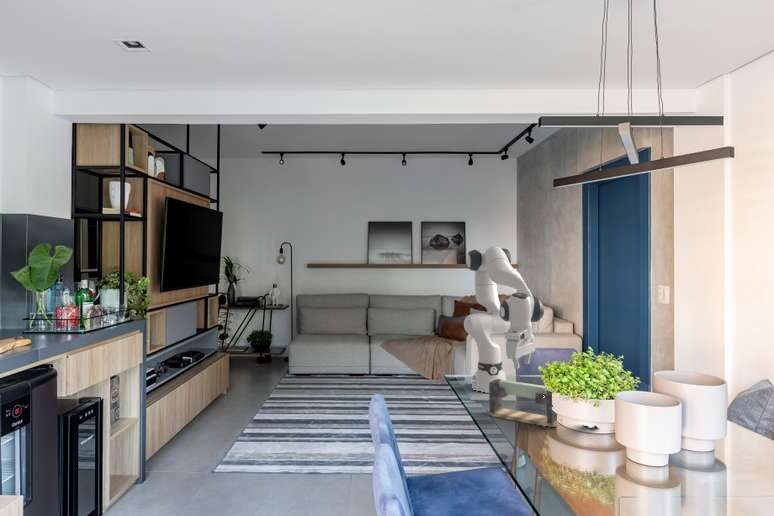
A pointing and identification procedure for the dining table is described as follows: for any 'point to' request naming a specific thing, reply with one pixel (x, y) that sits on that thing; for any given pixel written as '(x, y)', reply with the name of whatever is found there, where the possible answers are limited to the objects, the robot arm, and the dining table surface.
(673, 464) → the dining table surface
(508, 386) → the rail
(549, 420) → the rail stand
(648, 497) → the dining table surface
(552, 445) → the dining table surface
